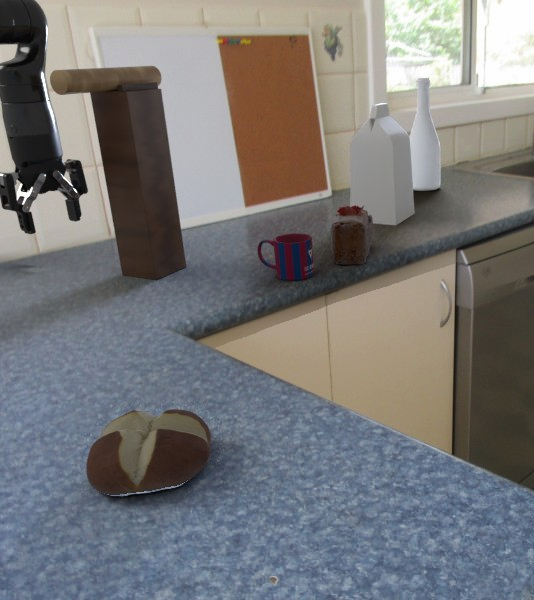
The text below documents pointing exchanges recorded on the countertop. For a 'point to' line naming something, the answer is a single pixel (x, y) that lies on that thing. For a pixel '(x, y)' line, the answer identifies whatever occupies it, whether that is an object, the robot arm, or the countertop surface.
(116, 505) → the countertop surface
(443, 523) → the countertop surface
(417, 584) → the countertop surface
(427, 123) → the wine bottle
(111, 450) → the bread
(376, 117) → the milk
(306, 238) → the mug
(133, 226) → the stand
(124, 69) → the rolling pin
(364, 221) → the food item
